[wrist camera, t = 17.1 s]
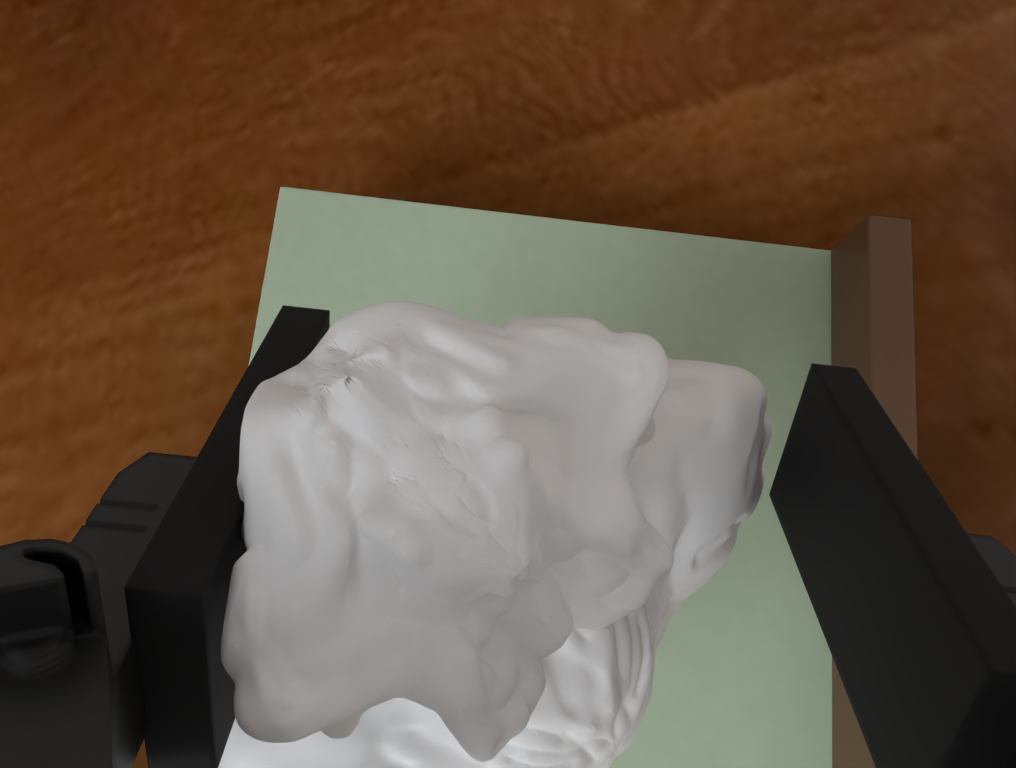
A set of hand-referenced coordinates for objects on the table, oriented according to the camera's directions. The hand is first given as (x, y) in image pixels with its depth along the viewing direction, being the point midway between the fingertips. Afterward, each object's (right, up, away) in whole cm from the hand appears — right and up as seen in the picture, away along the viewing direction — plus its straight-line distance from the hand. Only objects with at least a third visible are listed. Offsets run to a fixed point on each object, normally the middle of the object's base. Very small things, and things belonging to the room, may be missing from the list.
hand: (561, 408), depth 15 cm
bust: (-2, -4, +3) cm, 5 cm away
